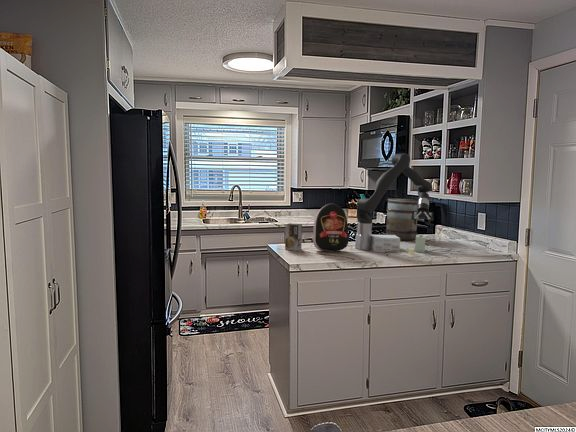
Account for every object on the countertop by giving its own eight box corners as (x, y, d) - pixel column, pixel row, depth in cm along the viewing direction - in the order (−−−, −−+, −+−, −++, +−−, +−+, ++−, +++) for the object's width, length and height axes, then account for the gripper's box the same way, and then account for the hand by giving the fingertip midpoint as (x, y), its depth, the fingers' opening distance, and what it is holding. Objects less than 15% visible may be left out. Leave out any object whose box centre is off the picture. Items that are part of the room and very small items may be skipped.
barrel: (401, 235, 343) (404, 198, 340) (422, 240, 323) (425, 200, 320) (379, 236, 333) (382, 198, 330) (399, 241, 313) (402, 201, 310)
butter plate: (409, 257, 258) (409, 251, 257) (397, 253, 269) (397, 247, 268) (425, 256, 262) (425, 250, 262) (412, 252, 273) (413, 246, 273)
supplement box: (393, 248, 287) (394, 234, 286) (399, 252, 274) (400, 238, 273) (369, 247, 286) (369, 234, 285) (373, 251, 273) (374, 237, 272)
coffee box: (301, 249, 272) (302, 224, 270) (297, 250, 266) (298, 225, 264) (288, 247, 276) (289, 222, 274) (284, 249, 270) (285, 224, 268)
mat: (418, 254, 270) (418, 253, 270) (406, 250, 281) (406, 249, 281) (433, 253, 274) (433, 252, 274) (421, 249, 285) (421, 248, 285)
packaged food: (316, 254, 258) (318, 204, 255) (309, 247, 278) (311, 202, 274) (351, 254, 262) (353, 205, 258) (342, 248, 281) (344, 202, 278)
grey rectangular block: (424, 252, 272) (425, 236, 271) (414, 251, 274) (415, 235, 273) (424, 250, 281) (425, 234, 280) (415, 249, 283) (416, 233, 281)
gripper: (412, 202, 295) (411, 220, 286) (434, 202, 291) (433, 221, 282) (412, 208, 301) (411, 227, 292) (433, 209, 296) (433, 228, 287)
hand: (422, 224), depth 287 cm, fingers open, 8 cm apart
